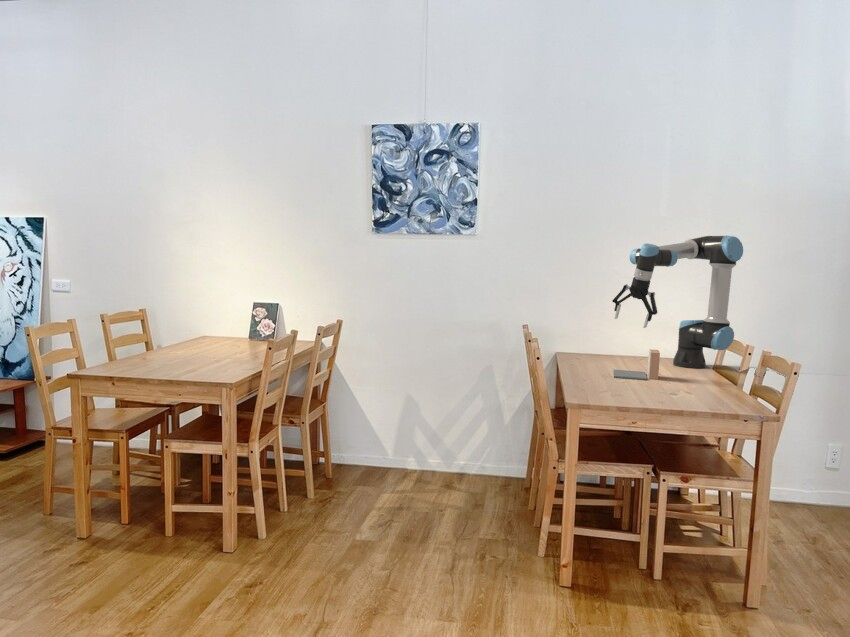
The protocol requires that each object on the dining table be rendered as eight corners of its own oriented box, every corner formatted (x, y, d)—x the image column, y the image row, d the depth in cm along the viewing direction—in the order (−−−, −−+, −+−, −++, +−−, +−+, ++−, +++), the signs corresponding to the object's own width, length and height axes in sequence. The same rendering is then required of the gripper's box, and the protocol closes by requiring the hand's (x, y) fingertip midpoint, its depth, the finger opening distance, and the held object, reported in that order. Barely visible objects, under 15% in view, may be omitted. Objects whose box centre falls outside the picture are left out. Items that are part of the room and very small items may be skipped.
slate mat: (644, 373, 306) (644, 371, 306) (646, 380, 291) (646, 378, 291) (613, 371, 310) (613, 369, 310) (613, 377, 294) (613, 375, 294)
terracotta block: (656, 375, 302) (658, 349, 300) (658, 379, 293) (659, 353, 292) (647, 375, 303) (649, 349, 301) (648, 379, 294) (650, 352, 293)
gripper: (612, 272, 297) (601, 316, 305) (667, 287, 285) (655, 333, 292) (618, 269, 304) (607, 312, 311) (672, 284, 291) (659, 329, 298)
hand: (630, 322), depth 302 cm, fingers open, 13 cm apart
